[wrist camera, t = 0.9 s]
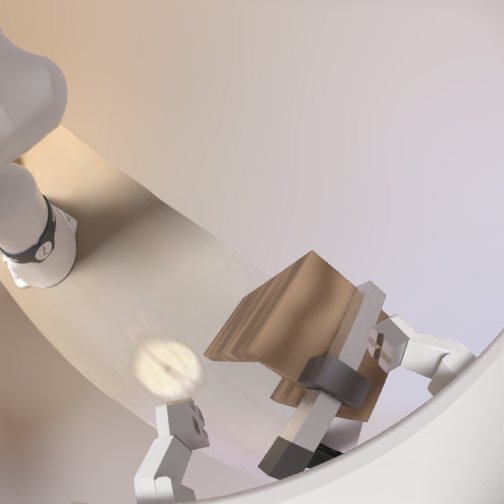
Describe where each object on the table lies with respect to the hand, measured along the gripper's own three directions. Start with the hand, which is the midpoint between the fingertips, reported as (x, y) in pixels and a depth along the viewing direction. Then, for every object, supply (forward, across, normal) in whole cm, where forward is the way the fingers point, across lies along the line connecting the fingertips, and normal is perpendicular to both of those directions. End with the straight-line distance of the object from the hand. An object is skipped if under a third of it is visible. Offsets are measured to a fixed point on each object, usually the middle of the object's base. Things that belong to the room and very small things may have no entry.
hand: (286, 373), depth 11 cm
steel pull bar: (+8, -6, +16) cm, 19 cm away
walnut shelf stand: (+29, -3, +32) cm, 44 cm away
